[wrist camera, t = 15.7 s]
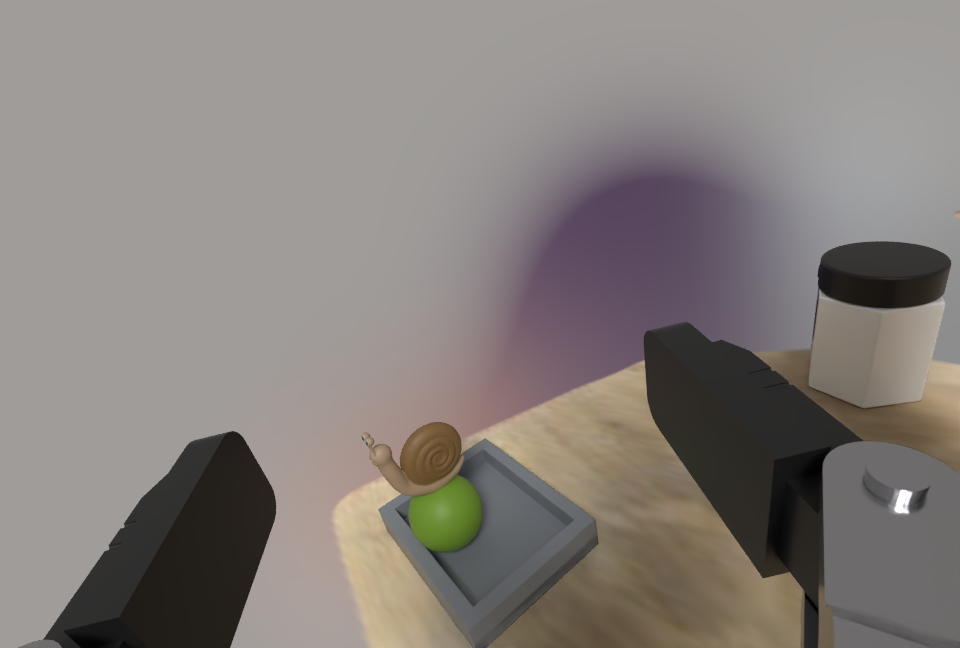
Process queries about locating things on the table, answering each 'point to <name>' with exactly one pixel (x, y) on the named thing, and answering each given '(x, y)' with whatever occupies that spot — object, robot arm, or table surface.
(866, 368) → the jar
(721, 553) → the table surface
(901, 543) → the robot arm
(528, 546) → the tray
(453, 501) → the snail figurine
